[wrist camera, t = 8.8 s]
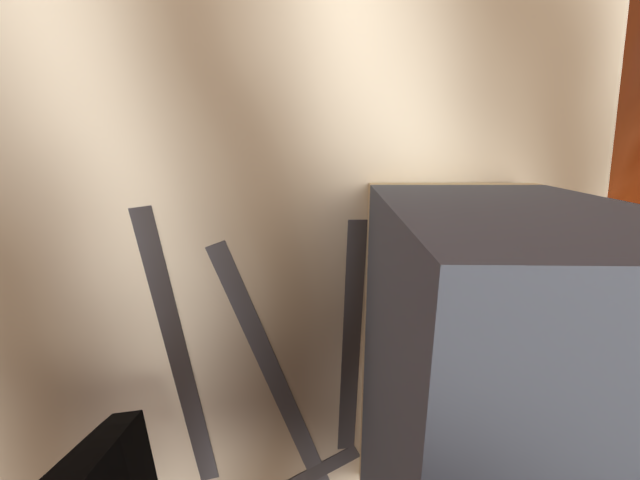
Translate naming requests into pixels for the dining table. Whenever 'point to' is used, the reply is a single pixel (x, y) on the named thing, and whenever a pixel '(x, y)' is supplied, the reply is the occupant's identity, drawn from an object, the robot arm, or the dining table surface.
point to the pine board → (251, 202)
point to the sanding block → (500, 334)
